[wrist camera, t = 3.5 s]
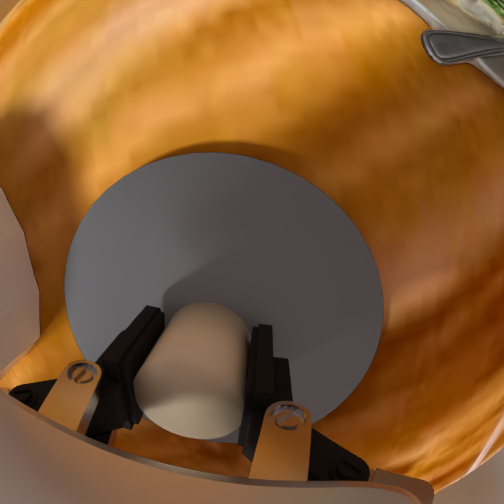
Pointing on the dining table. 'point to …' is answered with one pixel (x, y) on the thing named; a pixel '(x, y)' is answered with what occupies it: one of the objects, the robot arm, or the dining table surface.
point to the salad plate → (464, 33)
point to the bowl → (15, 292)
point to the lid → (225, 286)
